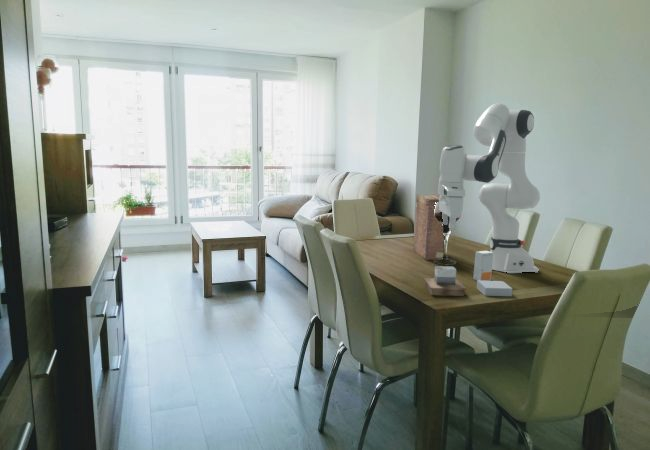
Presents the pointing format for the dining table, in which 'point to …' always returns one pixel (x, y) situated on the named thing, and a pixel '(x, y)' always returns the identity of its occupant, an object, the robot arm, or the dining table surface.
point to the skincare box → (483, 265)
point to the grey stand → (494, 288)
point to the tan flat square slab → (444, 288)
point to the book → (428, 229)
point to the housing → (445, 275)
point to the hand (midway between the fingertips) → (448, 226)
